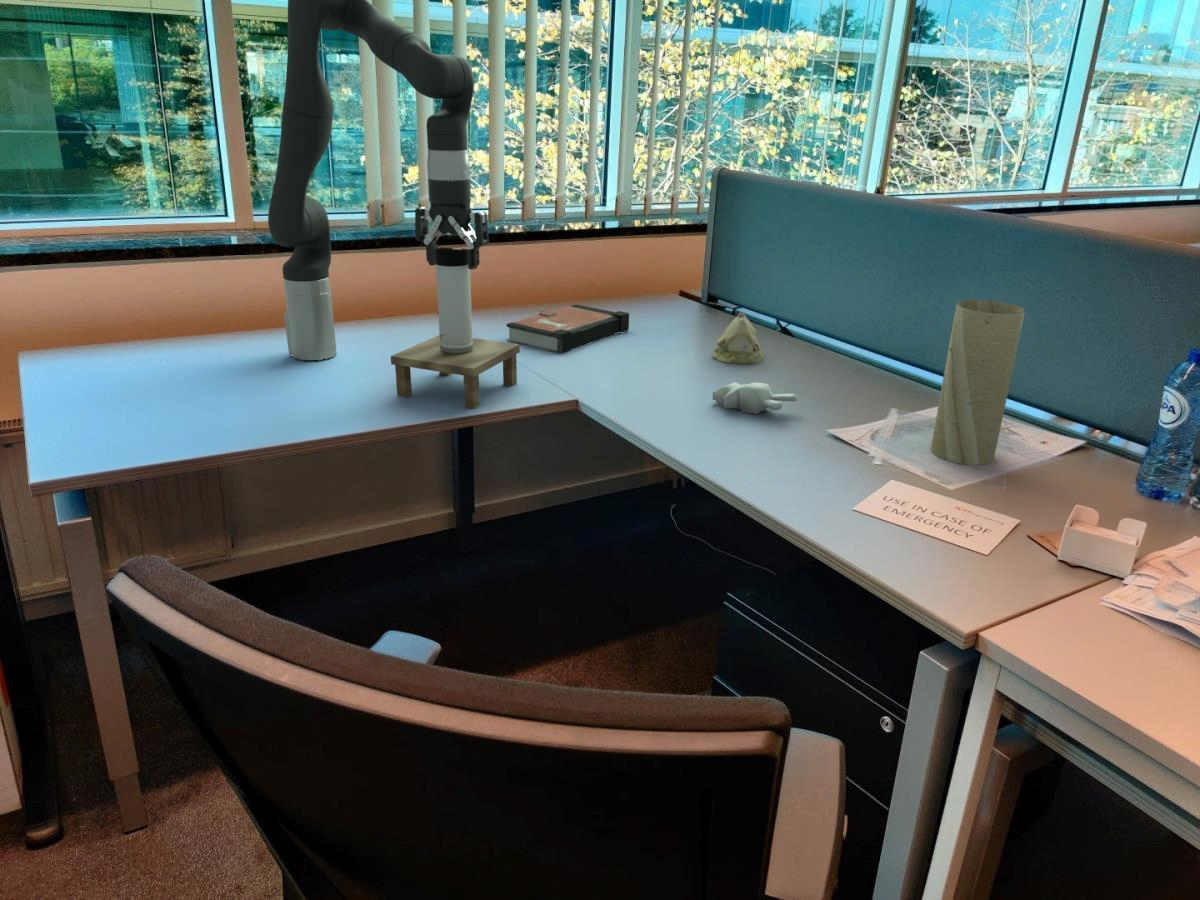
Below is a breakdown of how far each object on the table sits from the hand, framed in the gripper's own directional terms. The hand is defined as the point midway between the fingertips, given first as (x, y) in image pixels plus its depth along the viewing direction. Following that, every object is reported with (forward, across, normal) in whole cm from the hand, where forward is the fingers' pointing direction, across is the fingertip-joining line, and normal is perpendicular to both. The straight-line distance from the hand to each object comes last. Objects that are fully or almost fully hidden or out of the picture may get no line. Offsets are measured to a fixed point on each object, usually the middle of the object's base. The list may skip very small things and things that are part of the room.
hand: (453, 266), depth 162 cm
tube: (+24, -93, -8) cm, 96 cm away
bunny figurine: (+24, -56, -14) cm, 62 cm away
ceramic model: (+24, -44, -49) cm, 70 cm away
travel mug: (+16, 0, 0) cm, 16 cm away
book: (+25, -2, -46) cm, 53 cm away
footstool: (+24, 0, 0) cm, 24 cm away
